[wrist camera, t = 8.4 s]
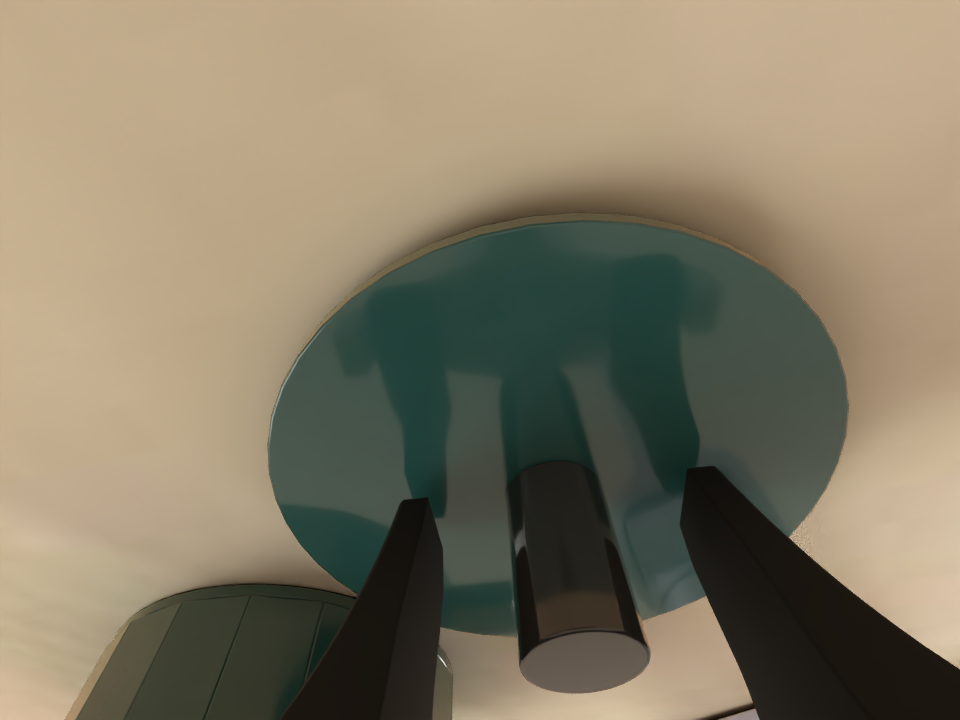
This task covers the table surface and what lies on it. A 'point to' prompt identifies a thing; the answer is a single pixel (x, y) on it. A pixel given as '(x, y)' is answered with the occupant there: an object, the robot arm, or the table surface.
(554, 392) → the pan lid
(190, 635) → the pan
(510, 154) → the table surface
